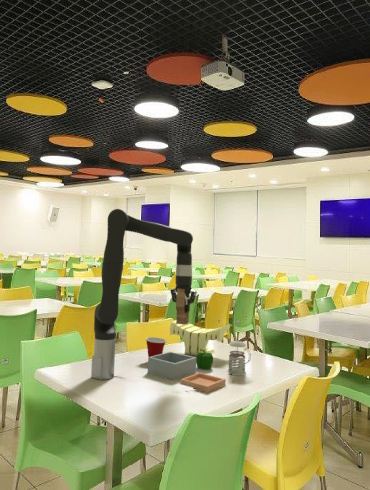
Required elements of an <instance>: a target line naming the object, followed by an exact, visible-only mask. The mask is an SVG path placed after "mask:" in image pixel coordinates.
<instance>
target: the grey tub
mask: <svg viewBox="0 0 370 490" xmlns="http://www.w3.org/2000/svg"><path fill="white" fill-rule="evenodd" d="M196 359H197V358H196V356H193V355H188V354H182V353H179V352H174V351H167V352H163V353H162V354H159V355H155V356H152V357H148V359H147V360H148V361H147V374H151V375H154V376H158V377H162V378H165V379H168V380H172V381H176V380H181V379H183V378H186V377H188V376H191V375H194V374H197V363H196Z"/></svg>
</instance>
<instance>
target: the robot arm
mask: <svg viewBox="0 0 370 490" xmlns="http://www.w3.org/2000/svg"><path fill="white" fill-rule="evenodd" d="M126 232H131V233H137V234H140V235H144V236H146V237H149V238H152V239H156V240H159V241H163V242H167V243H172V244H174V245H176V252H177V253H176V265H175V288H171V289H170V294H171V300H172V302H173V303H175V308H176V309H175V310H176V311H177V288H179V289H185V292H184V293H185V297H184V299H185V304H186V305H185V313H189V314H190V308H191V307H190V306H191V304H194V303H195V299H196V297H197V294H198V292H197V290H193V289H192V282H193V267H192V265H193V255H192V243H193V240H194V237H193V234H192V233H191V232H189V231H187V230H184V229H179V228H173V227H171V226H167V225H165V224H162V223H161V224H160V223H157V222H152V221H147V220H141V219H139V218H136V217H133V216H131V215H128V214H127V212H126V211H125V210H123V209H120V208H115V209H113V210H111V211H110V212H109V214H108V216H107V238H106V242H105V243H106V244H105V247H104V253H103V256H102V257H103V258H102V264H101V286H102V294H101V300H100V302H99V303H98V304H97V305H96V307H95V309H94V316H93V317H94V321H93V322H94V323H93V324H94V325H93V331H94V346H93V355H92V356H91V374H90V377H91V378H94V379H96V380H99V381H102V380H110V379H113V378H114V376H115V359H116V340H117V339H116V336H117V335H116V333H117V332H116V328H115V322H116V320H117V318H118V316H119V299H120V298H119V295H120V290H121V289H120V288H121V284H122V283H121V282H122V276H123V268H124V259H125V256H124V255H125V251H124V238H125V235H126ZM188 296H189V297H188ZM187 297H188V298H187Z"/></svg>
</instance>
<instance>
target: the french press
mask: <svg viewBox="0 0 370 490" xmlns="http://www.w3.org/2000/svg"><path fill="white" fill-rule="evenodd" d="M236 324H237V325H239V324H241V321H240V320H236ZM228 344H229V346H231V347H234V348H236V350H231V351H229V353H230V354H229V355H228V370H226V372H227V373H228V375H230V374H232V375H231V376H235V375H243V376H246V375H247V374H246V373H247V372H246V364H249V362H250V361H251V357H252V354H251V352H250V349H249V348H246V345H247V344H246V343H245V342H244V341H239V338H237V340H233V341H231V342H229V343H228ZM243 347H245V348H244V350H243V351H240V350H238V349H239V348H243ZM246 351H247V353H248V355H249V359H248V361H247V362H246V355H245V352H246ZM245 374H246V375H245Z"/></svg>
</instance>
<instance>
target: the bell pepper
mask: <svg viewBox="0 0 370 490" xmlns="http://www.w3.org/2000/svg"><path fill="white" fill-rule="evenodd" d="M200 351H203V352H204V353H198V354H197V356H195V357H196V358H197V359H196V368H197V369H200V370H205V371H206V370H207V371H208V370H211V369H212V366H213V363H214V356H213V354H211V353H206V352H205V350H204V349H200Z"/></svg>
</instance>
